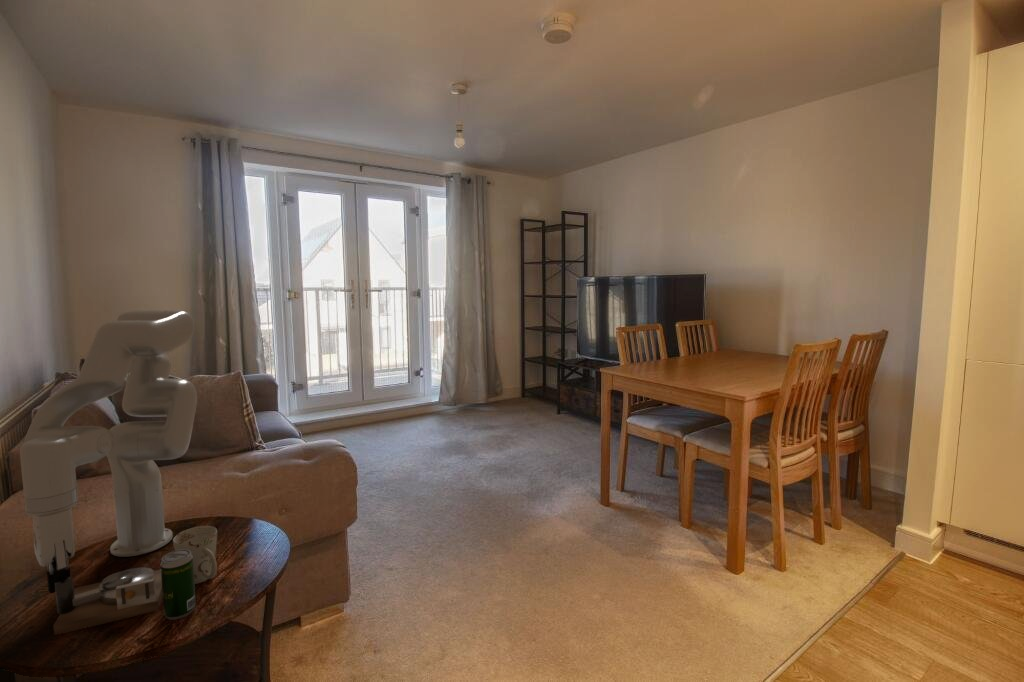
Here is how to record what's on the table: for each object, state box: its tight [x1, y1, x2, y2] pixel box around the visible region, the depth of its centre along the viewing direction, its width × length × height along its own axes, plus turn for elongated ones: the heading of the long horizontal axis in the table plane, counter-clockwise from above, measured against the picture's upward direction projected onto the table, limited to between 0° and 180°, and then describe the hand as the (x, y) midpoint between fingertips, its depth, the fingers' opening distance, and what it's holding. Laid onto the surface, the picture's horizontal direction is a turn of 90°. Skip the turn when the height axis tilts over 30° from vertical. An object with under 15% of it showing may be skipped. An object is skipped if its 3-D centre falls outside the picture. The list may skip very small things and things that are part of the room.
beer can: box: [159, 549, 197, 621], centre depth 98 cm, size 5×5×12 cm
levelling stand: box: [53, 569, 163, 636], centre depth 100 cm, size 14×16×6 cm
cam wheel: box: [55, 566, 155, 615], centre depth 99 cm, size 15×9×6 cm, turn 130°
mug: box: [172, 525, 218, 585], centre depth 109 cm, size 8×13×10 cm, turn 60°
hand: (59, 588), depth 97 cm, fingers closed
